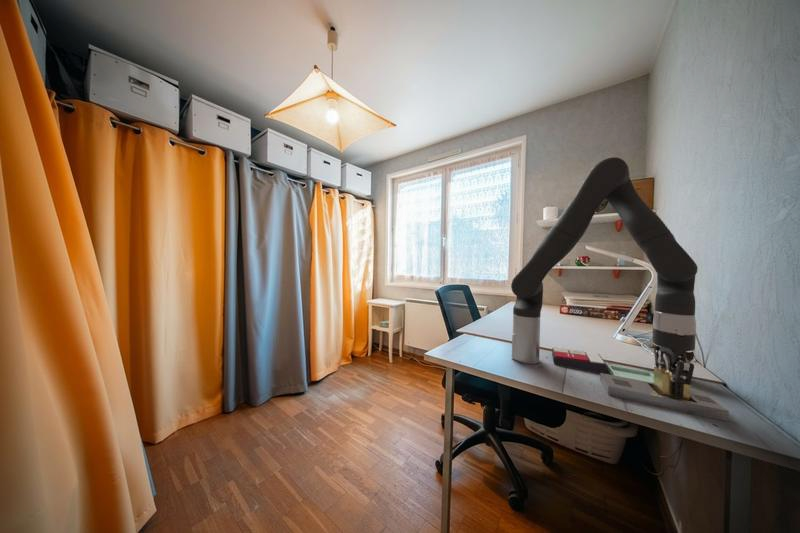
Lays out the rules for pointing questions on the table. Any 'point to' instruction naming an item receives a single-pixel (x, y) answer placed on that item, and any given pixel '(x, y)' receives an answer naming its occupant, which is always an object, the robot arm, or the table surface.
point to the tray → (631, 373)
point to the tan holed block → (667, 384)
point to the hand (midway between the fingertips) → (670, 390)
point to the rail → (662, 397)
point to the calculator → (579, 360)
